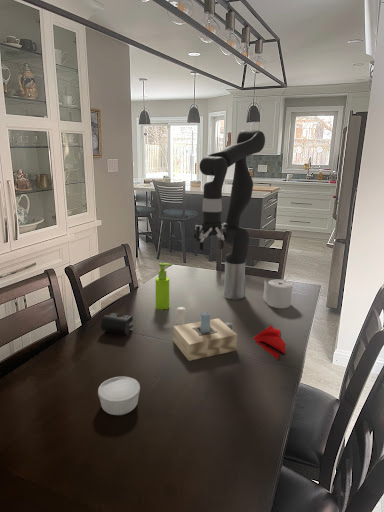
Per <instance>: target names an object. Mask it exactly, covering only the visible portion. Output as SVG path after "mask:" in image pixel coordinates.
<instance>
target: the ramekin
mask: <svg viewBox="0 0 384 512" xmlns="http://www.w3.org/2000/svg"><path fill="white" fill-rule="evenodd" d="M140 391H141V386H140V382H139V381H137V379H135V378H132V377H130V376H115V377H111V378H109V379H106V380H104V381H103V382H102V383H101V384H100V385H99V387H98V389H97V395H98V398H99V401H100V406H101V408H102V410H103V411H104V412H106V414H109V415H111V416H112V415H113V416H123V415H126V414H128V413H130V412H132V411H133V410H135V408H136V407H137V405H138V402H139V396H140V393H141V392H140Z"/></svg>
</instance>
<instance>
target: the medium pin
mask: <svg viewBox="0 0 384 512" xmlns="http://www.w3.org/2000/svg"><path fill="white" fill-rule="evenodd" d="M183 324H186V308H185V307H184V306H179V307H177V308H176V326H178V325H183Z"/></svg>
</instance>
